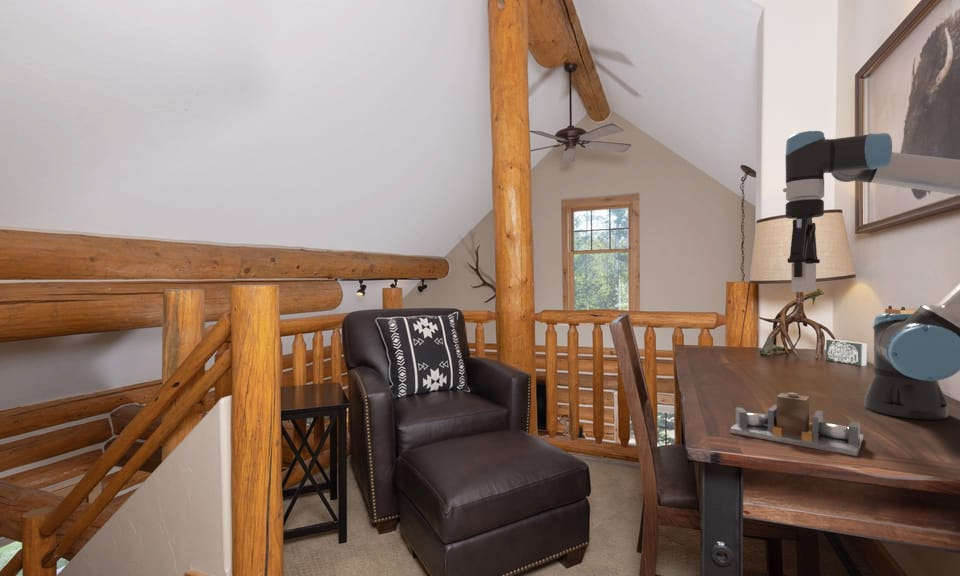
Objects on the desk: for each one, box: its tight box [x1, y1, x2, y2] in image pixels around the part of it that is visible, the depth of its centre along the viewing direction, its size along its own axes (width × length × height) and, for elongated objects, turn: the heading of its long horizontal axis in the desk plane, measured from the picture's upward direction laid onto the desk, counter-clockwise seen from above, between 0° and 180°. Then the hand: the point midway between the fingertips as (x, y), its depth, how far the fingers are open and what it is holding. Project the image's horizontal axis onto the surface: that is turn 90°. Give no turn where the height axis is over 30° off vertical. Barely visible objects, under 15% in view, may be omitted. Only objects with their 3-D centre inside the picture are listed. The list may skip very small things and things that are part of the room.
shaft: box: [735, 406, 768, 428], centre depth 105 cm, size 6×4×3 cm
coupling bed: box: [730, 403, 864, 457], centre depth 101 cm, size 21×12×5 cm, turn 48°
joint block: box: [776, 392, 810, 435], centre depth 101 cm, size 5×4×8 cm
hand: (804, 291), depth 117 cm, fingers open, 13 cm apart
